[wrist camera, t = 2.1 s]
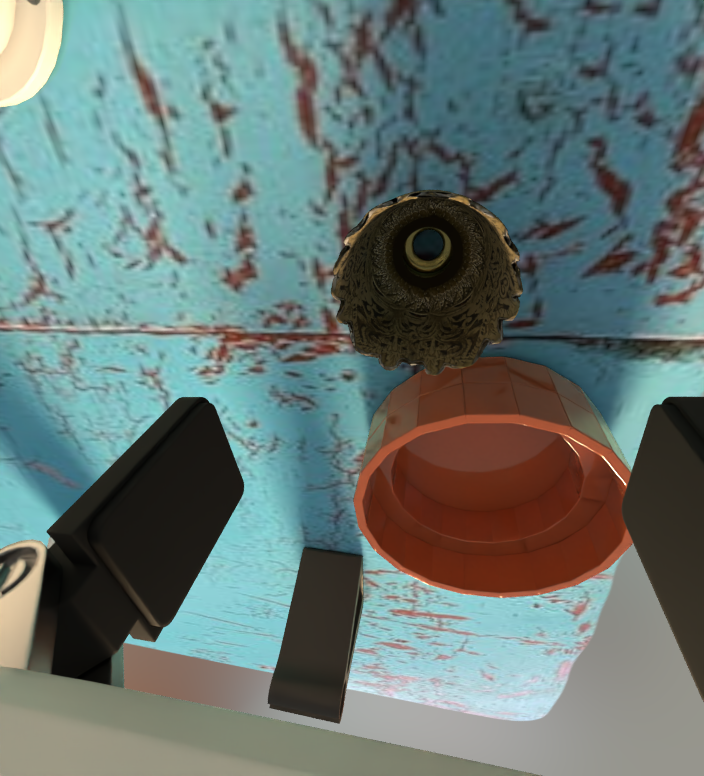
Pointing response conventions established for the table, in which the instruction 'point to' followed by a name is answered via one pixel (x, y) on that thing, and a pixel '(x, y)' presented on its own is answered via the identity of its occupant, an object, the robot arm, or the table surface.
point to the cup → (427, 282)
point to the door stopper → (319, 636)
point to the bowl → (493, 481)
